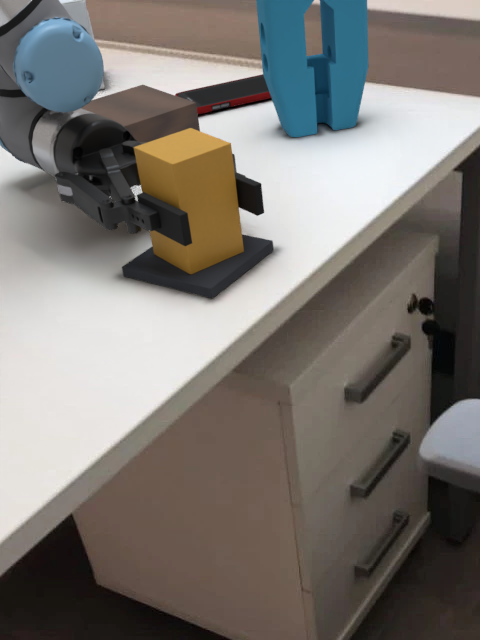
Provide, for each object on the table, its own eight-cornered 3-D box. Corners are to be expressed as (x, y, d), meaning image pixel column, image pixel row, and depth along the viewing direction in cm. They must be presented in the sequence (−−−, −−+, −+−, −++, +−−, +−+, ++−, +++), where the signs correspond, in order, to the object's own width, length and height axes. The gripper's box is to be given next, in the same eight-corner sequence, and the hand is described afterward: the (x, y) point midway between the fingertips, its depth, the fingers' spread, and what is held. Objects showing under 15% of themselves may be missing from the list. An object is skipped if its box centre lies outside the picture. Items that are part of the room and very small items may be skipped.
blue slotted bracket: (357, 111, 111) (352, -72, 98) (372, 123, 107) (368, -65, 95) (266, 127, 109) (248, -57, 96) (277, 140, 105) (260, -50, 92)
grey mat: (212, 298, 76) (210, 288, 76) (123, 276, 81) (121, 266, 80) (273, 250, 83) (273, 240, 82) (188, 232, 87) (187, 222, 86)
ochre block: (190, 275, 78) (172, 164, 71) (153, 254, 81) (133, 146, 75) (244, 251, 81) (231, 142, 74) (206, 232, 84) (190, 127, 78)
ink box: (67, 77, 131) (48, -11, 124) (101, 73, 132) (84, -15, 125) (69, 94, 125) (48, 2, 117) (105, 89, 125) (86, -2, 118)
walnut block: (123, 184, 98) (112, 130, 94) (74, 160, 104) (62, 109, 101) (203, 155, 103) (196, 102, 99) (151, 134, 110) (142, 84, 106)
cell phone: (296, 93, 118) (295, 85, 117) (193, 116, 113) (192, 108, 113) (272, 79, 123) (271, 72, 123) (173, 101, 119) (172, 93, 118)
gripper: (-17, 143, 82) (113, 210, 68) (162, 87, 91) (309, 136, 77) (6, 219, 86) (132, 297, 72) (174, 158, 96) (314, 217, 82)
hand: (223, 214), depth 75 cm, fingers open, 7 cm apart
